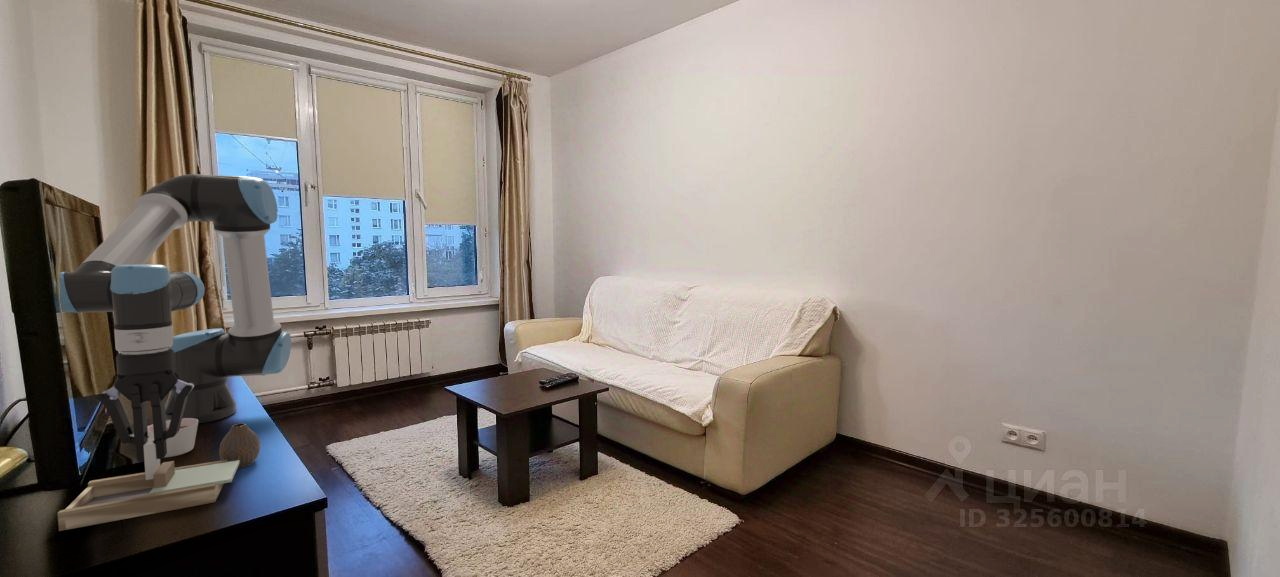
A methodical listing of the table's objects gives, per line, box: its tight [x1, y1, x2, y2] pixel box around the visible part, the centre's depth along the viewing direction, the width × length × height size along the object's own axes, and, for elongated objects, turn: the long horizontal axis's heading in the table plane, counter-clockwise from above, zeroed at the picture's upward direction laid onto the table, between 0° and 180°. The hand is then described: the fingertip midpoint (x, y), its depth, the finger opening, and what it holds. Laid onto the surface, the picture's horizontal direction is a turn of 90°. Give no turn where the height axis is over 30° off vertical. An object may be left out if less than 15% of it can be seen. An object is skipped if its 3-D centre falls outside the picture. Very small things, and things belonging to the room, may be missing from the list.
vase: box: [218, 422, 261, 469], centre depth 110 cm, size 7×7×9 cm
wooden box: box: [57, 460, 227, 532], centre depth 95 cm, size 13×20×3 cm, turn 121°
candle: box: [147, 418, 199, 459], centre depth 115 cm, size 9×9×6 cm
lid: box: [150, 460, 240, 495], centre depth 98 cm, size 10×11×3 cm
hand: (153, 476), depth 94 cm, fingers closed
